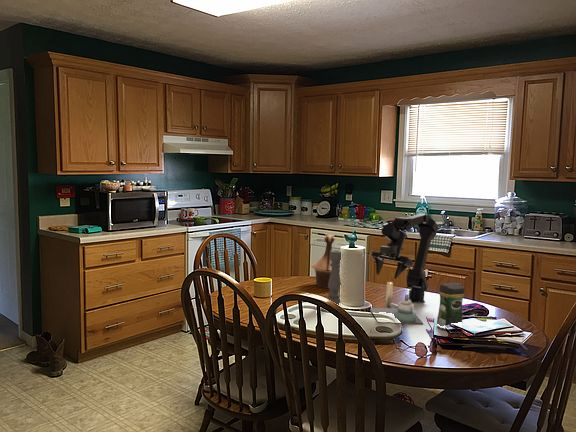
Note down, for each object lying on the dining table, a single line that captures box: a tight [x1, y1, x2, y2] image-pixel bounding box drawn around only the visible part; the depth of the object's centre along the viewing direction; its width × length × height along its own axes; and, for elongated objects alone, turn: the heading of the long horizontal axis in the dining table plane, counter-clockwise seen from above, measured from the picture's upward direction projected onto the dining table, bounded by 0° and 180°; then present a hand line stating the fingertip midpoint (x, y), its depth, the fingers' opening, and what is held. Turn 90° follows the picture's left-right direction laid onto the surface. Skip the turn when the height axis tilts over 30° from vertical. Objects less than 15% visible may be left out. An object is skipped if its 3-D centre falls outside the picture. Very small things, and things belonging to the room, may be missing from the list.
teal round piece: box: [394, 308, 417, 322], centre depth 208 cm, size 9×9×4 cm
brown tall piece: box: [310, 233, 336, 289], centre depth 261 cm, size 18×17×28 cm
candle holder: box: [326, 249, 342, 305], centre depth 227 cm, size 6×6×25 cm
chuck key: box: [385, 281, 415, 314], centre depth 211 cm, size 14×6×11 cm, turn 33°
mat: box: [369, 307, 424, 325], centre depth 214 cm, size 19×19×1 cm
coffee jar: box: [436, 282, 465, 326], centre depth 200 cm, size 10×8×19 cm
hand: (386, 276), depth 219 cm, fingers open, 9 cm apart
